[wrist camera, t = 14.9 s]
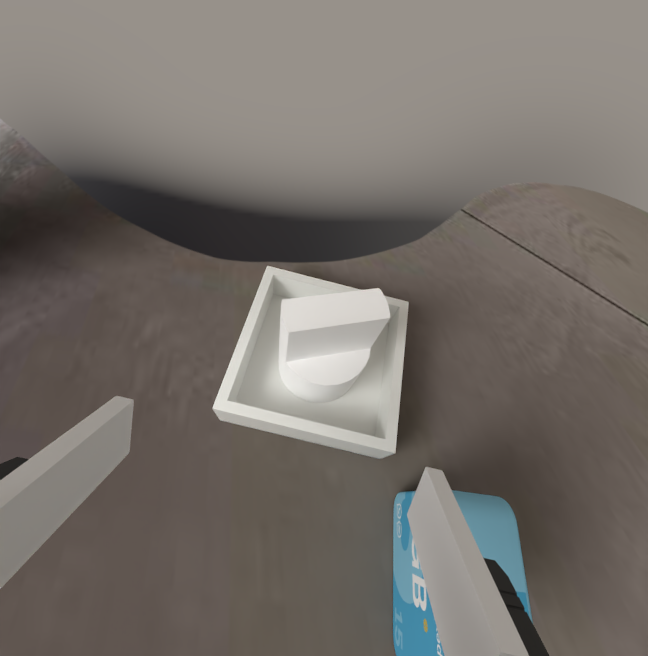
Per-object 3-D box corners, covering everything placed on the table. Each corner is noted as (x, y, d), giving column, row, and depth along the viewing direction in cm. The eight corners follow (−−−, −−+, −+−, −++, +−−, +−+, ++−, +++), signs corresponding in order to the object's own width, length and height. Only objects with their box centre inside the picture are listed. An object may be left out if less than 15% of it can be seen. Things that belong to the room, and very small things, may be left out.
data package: (392, 491, 32) (451, 487, 21) (436, 497, 32) (514, 496, 22) (391, 655, 26) (472, 760, 16) (444, 661, 26) (558, 766, 16)
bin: (220, 420, 33) (212, 408, 29) (267, 289, 41) (267, 265, 37) (379, 459, 33) (395, 453, 29) (395, 322, 41) (408, 302, 37)
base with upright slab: (345, 324, 39) (371, 260, 29) (366, 394, 35) (405, 350, 25) (272, 334, 37) (272, 270, 27) (286, 410, 33) (292, 369, 23)
